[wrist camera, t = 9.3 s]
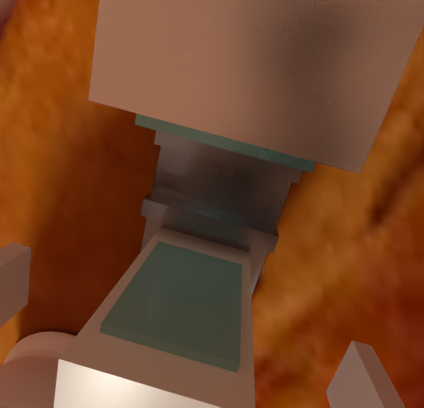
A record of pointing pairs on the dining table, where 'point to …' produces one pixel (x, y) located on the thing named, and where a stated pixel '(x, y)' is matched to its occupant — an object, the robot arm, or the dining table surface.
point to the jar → (32, 370)
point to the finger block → (167, 333)
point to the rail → (249, 100)
